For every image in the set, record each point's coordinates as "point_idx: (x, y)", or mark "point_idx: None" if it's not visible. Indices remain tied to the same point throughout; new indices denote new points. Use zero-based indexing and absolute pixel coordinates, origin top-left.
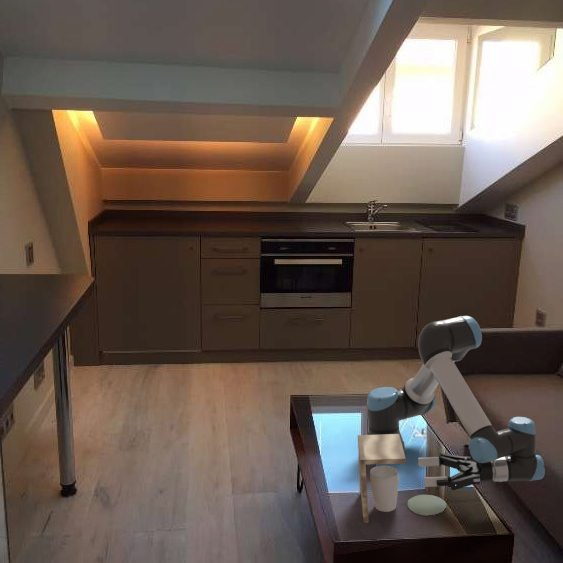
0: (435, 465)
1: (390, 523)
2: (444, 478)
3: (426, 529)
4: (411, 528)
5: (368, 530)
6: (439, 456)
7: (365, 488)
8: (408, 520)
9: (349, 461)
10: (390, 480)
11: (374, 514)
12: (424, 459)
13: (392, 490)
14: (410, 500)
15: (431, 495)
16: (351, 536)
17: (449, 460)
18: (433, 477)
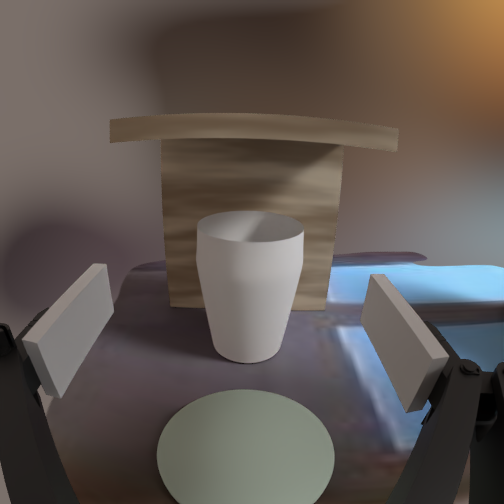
0: (396, 388)
1: (150, 340)
2: (32, 332)
3: (80, 409)
4: (103, 376)
5: (137, 303)
6: (462, 363)
7: (164, 211)
8: (150, 380)
9: (459, 289)
10: (198, 240)
11: (207, 319)
12: (383, 299)
13: (202, 283)
14: (279, 400)
15: (329, 473)
16: (129, 282)
17: (428, 446)
18: (77, 288)
